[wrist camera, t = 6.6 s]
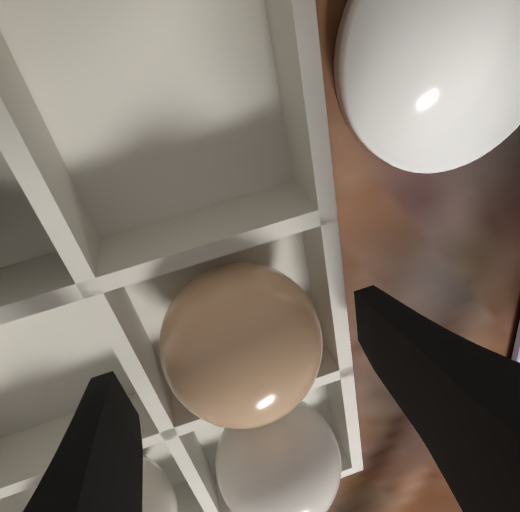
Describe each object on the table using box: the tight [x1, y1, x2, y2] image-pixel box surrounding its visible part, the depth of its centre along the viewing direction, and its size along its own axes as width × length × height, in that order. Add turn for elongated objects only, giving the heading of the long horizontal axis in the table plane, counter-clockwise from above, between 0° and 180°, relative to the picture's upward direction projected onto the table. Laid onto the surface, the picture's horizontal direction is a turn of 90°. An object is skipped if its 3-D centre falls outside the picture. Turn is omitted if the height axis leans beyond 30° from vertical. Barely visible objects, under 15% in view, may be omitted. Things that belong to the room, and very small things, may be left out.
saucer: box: [334, 0, 520, 173], centre depth 12 cm, size 7×7×1 cm
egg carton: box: [0, 0, 363, 512], centre depth 14 cm, size 14×20×2 cm
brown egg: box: [159, 262, 323, 429], centre depth 13 cm, size 5×5×5 cm
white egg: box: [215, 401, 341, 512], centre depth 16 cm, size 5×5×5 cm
